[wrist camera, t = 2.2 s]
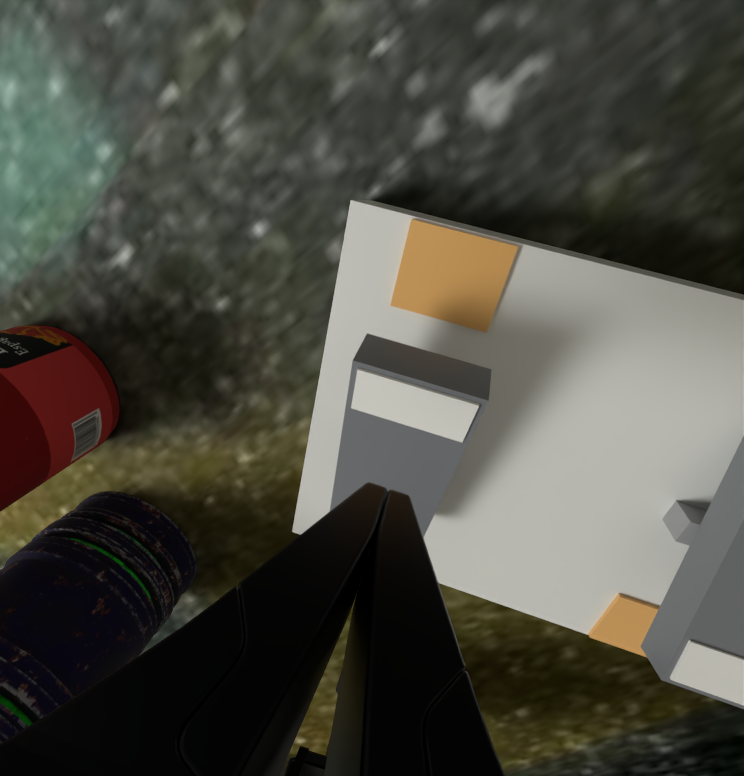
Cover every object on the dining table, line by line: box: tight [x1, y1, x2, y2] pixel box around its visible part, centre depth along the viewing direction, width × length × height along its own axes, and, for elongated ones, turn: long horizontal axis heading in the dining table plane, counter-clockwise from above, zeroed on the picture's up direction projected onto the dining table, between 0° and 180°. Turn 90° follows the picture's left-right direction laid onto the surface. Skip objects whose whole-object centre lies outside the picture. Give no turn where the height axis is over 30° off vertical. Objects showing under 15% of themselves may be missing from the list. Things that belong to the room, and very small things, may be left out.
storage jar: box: [0, 492, 197, 743], centre depth 23 cm, size 10×10×15 cm
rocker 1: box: [330, 333, 492, 538], centre depth 15 cm, size 9×4×2 cm, turn 168°
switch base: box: [292, 200, 744, 657], centre depth 17 cm, size 16×20×4 cm
